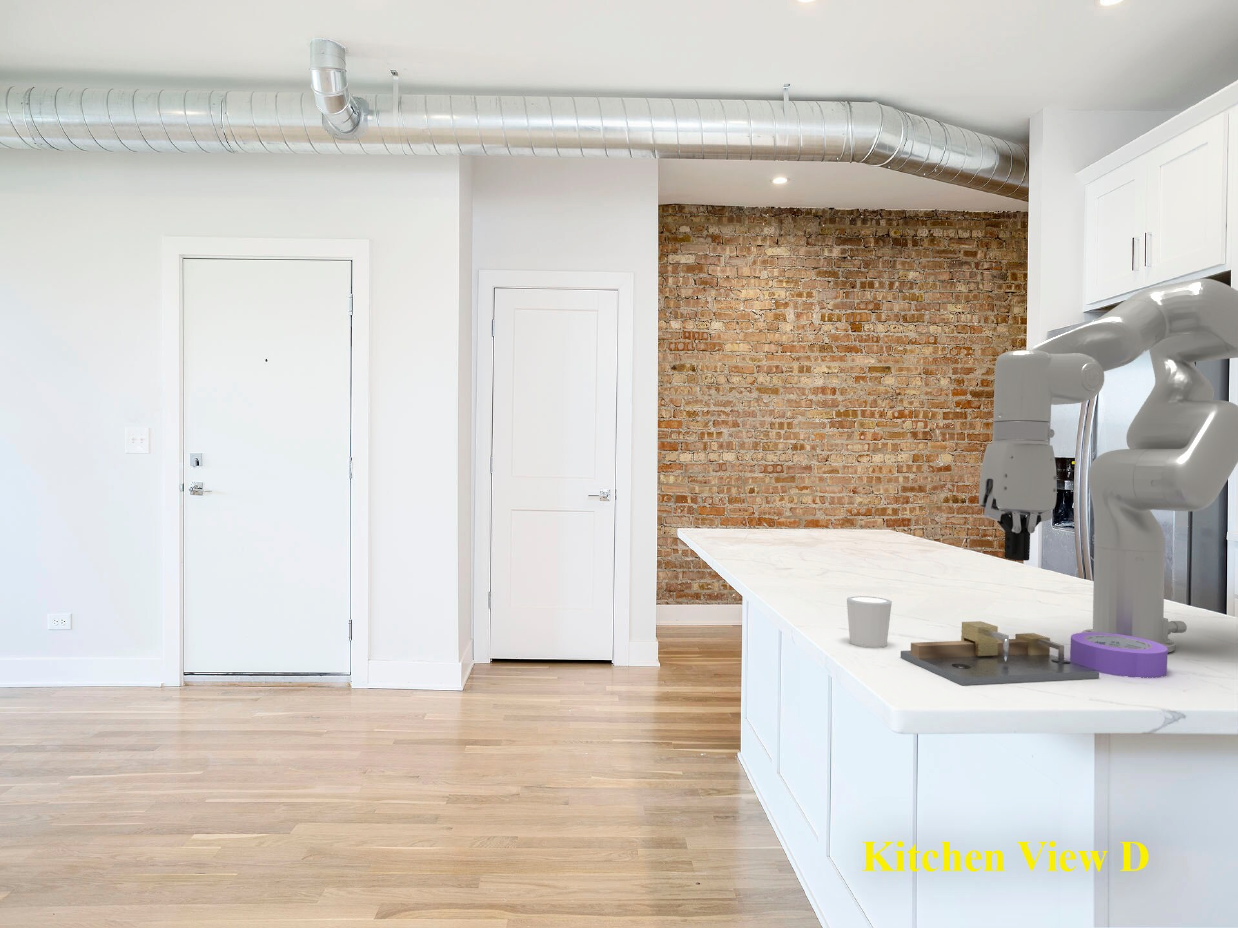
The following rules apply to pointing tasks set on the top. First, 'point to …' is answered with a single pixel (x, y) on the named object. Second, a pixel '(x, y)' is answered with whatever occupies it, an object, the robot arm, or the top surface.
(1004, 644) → the sliding head
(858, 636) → the light grey cup
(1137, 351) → the robot arm
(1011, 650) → the trammel beam
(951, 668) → the plate
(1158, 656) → the masking tape
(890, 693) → the top surface
